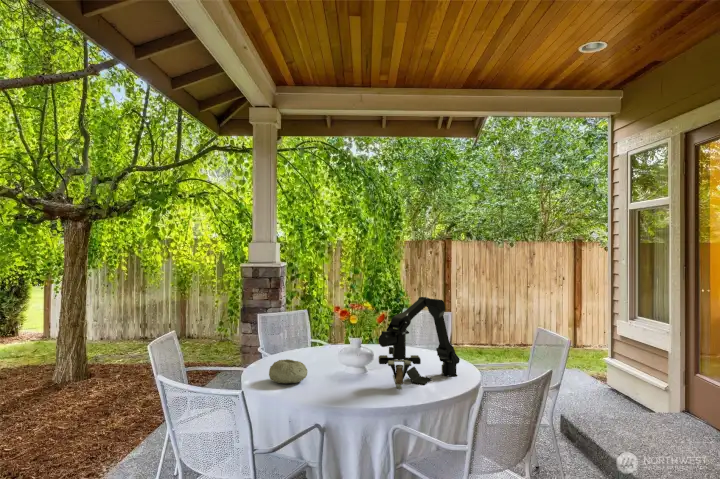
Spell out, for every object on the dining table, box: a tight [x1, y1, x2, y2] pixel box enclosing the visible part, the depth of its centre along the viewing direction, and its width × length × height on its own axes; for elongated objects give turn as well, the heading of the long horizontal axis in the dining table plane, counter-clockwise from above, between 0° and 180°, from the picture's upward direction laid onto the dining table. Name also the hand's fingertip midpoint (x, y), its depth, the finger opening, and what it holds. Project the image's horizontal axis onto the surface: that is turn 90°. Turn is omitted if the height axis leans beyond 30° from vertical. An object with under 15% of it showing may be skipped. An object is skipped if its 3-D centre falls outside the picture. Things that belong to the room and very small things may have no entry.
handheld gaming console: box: [406, 366, 432, 386], centre depth 216 cm, size 12×7×10 cm
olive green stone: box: [268, 358, 309, 384], centre depth 213 cm, size 18×18×10 cm
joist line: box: [392, 374, 403, 390], centre depth 214 cm, size 2×22×1 cm, turn 1°
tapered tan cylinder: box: [395, 364, 404, 385], centre depth 206 cm, size 3×3×8 cm
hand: (399, 378), depth 206 cm, fingers closed on tapered tan cylinder, 3 cm apart
